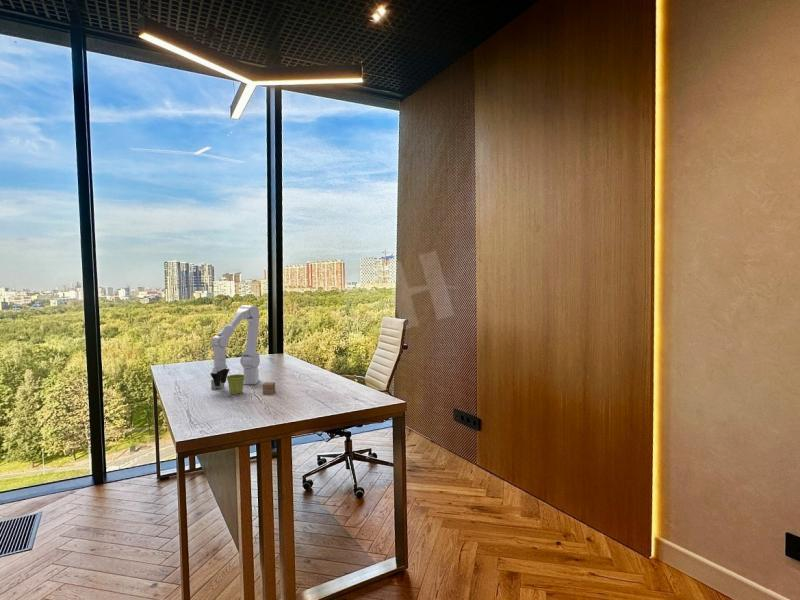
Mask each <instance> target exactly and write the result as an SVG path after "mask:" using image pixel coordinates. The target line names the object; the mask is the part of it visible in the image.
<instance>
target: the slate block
mask: <svg viewBox="0 0 800 600" xmlns="http://www.w3.org/2000/svg"><path fill="white" fill-rule="evenodd" d="M210 383H211V384H210V385H211V390H216V389H215V388H222V387H223V388H225V383H221V380H220V386H215V384H214V380H213V378H212V379H211V380H210ZM223 388H222V389H223Z"/></svg>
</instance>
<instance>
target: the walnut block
mask: <svg viewBox="0 0 800 600" xmlns="http://www.w3.org/2000/svg"><path fill="white" fill-rule="evenodd" d="M273 392H274V393H275V392H276V382H275V381H271V382H270V381H265V382H264V383H262V394H263V393H273ZM274 393H273V394H274Z"/></svg>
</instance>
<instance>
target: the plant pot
mask: <svg viewBox="0 0 800 600" xmlns="http://www.w3.org/2000/svg"><path fill="white" fill-rule="evenodd" d="M244 379H245V375H244V374H241V373H240V374H239V373H237V374H231V375H227V377H226V381H227V384H228V389H229V394H231V395H238V394H239V393H240V394H243V390H244V384H243V383H244Z"/></svg>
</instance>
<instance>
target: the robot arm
mask: <svg viewBox="0 0 800 600" xmlns="http://www.w3.org/2000/svg"><path fill="white" fill-rule="evenodd" d="M238 307H239V308H238V309H237V310H236V314H235V316H233V318H232V320H231V321H230V322H229V324H226V325H224V326H223V328H222V329H220V331H219V332H218V334H217V335H215V336H213V338H212V339H211V341H210V344H211V347H212V349H213V366H212V367H211V369H212V370H211V371H212V372H210V377H211V378H212V379H213V380H214V384H215V386H220V380H221V383H224V384H225V383H226V381H227V378H226V377H227V376H228V374H229V372H230V368H228V364H227V357H226V356H227V354H226V353H227V351H226V347H227V346H228V344H229V339H230V338H231V337H232V335H233V334H234V333H235V330H236V329H235V328H236V327H237V326H239V324H240V323H241V322H242V320H244V319H245V320H246V321H247V322H248V327H247V328H248V330H247V336H246V337H247V338H246V347H245V350H244V351H243V352H242V354H241V358H240V359H239V364H240V365H241V367H242V368H243V375H245V379H244V383H243V385H257V384H258V383H259V382H260V381H261V379H260V378H259V375H260V374H259V372H260V371H259V368H258V366H259V365H260V363H261V360H260V354H259V352H258V351H257V345H258V336H259V326H260V309H259V308H258V306H257V305H254V304H253V305H249V304H248V305H247V304H246V305H245V304H243V305H240V306H238Z"/></svg>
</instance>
